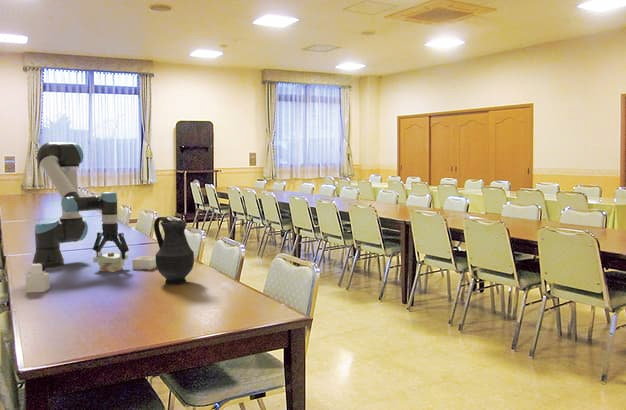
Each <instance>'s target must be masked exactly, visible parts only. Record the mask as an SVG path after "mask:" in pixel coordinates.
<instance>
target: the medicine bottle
mask: <svg viewBox="0 0 626 410" xmlns="http://www.w3.org/2000/svg"><path fill="white" fill-rule="evenodd" d="M25 281H26V293H31V294H32V293H45V292H46V291H48V290H50V289H51V286H50V284H51V283H50V282H51V281H50V272H46V267H45V264H44V263H33V262H32V263H31V264H30V265H29V274H28V275H26V277H25Z"/></svg>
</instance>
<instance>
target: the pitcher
mask: <svg viewBox="0 0 626 410" xmlns="http://www.w3.org/2000/svg"><path fill="white" fill-rule="evenodd" d="M160 225H161V227H162V230H163V233H164V234H163V235H164V237H163V236H162V233H161V229H160ZM187 225H188V223H187V220H180V219H179V220H176V219H175V220H171V219H169V218H167V217H166V216H158V217H156V219H155V220H154V223H153V230H154V234H155V237H156V241H157V244H158V247H159V249H158V251H157V252H156V253H155V257H156V266H157V268H156V269H157V271H158V272H159V274H160V275H161V276H162V277H163V278H165V282H164V284H166V285H169V284H170V285H173V286H174V285H175V286H176V285H183V284H186V283H187V279H186V277H187V276H188V275H189V274H190V273H191V272H192V270H193V267H194V265H195V252H194V250H193V249H192V248H191V247H190V245H189V243H188V242H189V241H188V240H187V236H186V234H185V230H186V227H187ZM170 285H169V286H170Z"/></svg>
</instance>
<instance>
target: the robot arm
mask: <svg viewBox="0 0 626 410" xmlns="http://www.w3.org/2000/svg"><path fill="white" fill-rule="evenodd" d="M83 161H84V152H83V149H82V146H80V144H78V143H76V142H70V141H69V142H67V141H66V142H54V141H50V142H46V143H43V144H42V145H41V146H40V147H39V148H38V150H37V153H36V162H37V163H38V166H39V167H40V169H41V170H44V171H45V173H46V175H47V177H48V178H49V180H50V181H51V183H52V184H53V186H54V188H55V189H56V191H57V193H58V194H59V195H60V197H61V201H60V202H61V203H60V205H61V215H60V217H59V219H46V220H41V221H39V222H37V223H36V224H35V225H34V239H35V240H34V241H35V242H34V243H35V251H34V252H35V253H34V255H33V258H32V259H33V260H32V264H33V263H44V264H45V268H49V267H50V268H51V267H52V268H53V267H56V266H61V265H64V264H65V259H64V257H63V254H62V251H61V247H60V246H61V245H60V244H65V243H67V244H68V243H74V242H75V243H76V242H81V241H83V240H84V239H86V237H87V234H88V232H89V226H88V223H87V221H86V220H85V219H83V216H82V214H80V212H86V211H101V222H102V224H101V230H102V231H98V232H96V239H95V241H94V245H93V247H92V250H93V251H95V254H96V257H97V256H100V255H103V251H102V249H103V247H104V246H105V244H107V242H113V243H114V244H115V246H116V247H117V248H118V250H119V252H120V253H119V254H120V266H125V260H124V259H125V258H126V257H125V254H126V253H127V252H129V251H130V249H129V247H128V244H127V242H126V239H125V237H124V236H125V234H124V232H118V230H119V224H118V222H119V219H118V218H119V216H118V194H117V192H115V191H103V192H102V193H101V194H100V195H99V194H91V195H80V194H79V188H78V187H79V186H78V172H77V171H78V169H79V168H80V165H81V164H82V163H83ZM97 265H98V266H99V263H97Z"/></svg>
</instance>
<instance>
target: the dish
mask: <svg viewBox="0 0 626 410" xmlns="http://www.w3.org/2000/svg"><path fill="white" fill-rule="evenodd" d="M131 261H132V262H131V263H132V270H142V269H148V270H147V271H151V270H153V268H154V269H156V268H155V267H157V266H156V256H153V255H142V256H138V257H136V258H135V257H134V258H133V259H131ZM150 269H151V270H150Z"/></svg>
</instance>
